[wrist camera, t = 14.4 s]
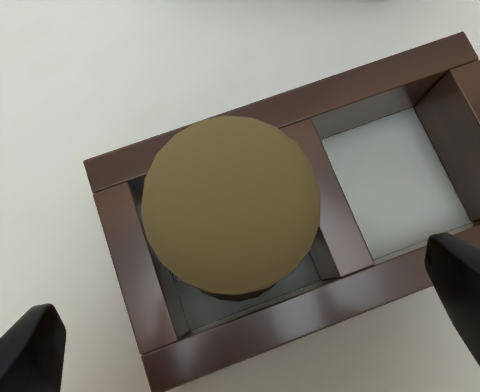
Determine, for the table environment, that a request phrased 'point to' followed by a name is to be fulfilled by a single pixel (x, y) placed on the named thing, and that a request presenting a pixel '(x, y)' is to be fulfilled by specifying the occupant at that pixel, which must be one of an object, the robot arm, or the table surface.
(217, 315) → the table surface
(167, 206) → the olive game pawn
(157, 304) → the hole block
